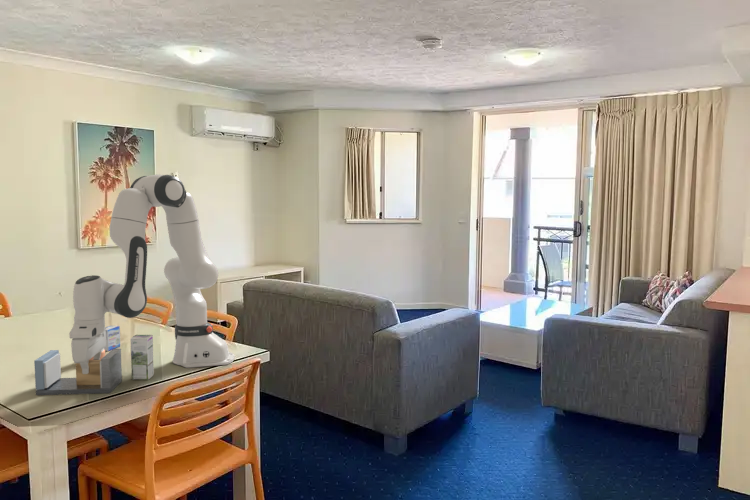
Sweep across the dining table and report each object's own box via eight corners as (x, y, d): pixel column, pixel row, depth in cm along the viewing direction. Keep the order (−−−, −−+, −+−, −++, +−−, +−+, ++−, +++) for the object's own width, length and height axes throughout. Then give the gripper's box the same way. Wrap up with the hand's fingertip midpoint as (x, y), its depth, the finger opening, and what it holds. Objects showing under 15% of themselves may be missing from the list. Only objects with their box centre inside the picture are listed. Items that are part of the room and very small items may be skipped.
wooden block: (81, 381, 189) (80, 360, 188) (107, 380, 190) (106, 359, 189) (76, 385, 185) (75, 363, 185) (102, 384, 186) (102, 363, 186)
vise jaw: (61, 377, 192) (60, 349, 191) (45, 389, 180) (44, 360, 179) (52, 377, 192) (50, 350, 191) (35, 389, 180) (34, 360, 179)
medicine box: (108, 351, 230) (107, 330, 229) (98, 350, 231) (97, 329, 230) (120, 346, 237) (120, 325, 237) (111, 345, 238) (110, 325, 237)
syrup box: (154, 374, 201) (153, 333, 200) (148, 380, 196) (147, 338, 194) (137, 374, 201) (136, 333, 200) (131, 380, 195) (129, 338, 194)
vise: (121, 380, 195) (120, 348, 194) (110, 393, 183) (109, 358, 182) (52, 382, 192) (50, 350, 191) (35, 395, 180) (34, 360, 179)
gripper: (91, 319, 196) (92, 359, 197) (66, 334, 176) (68, 379, 177) (110, 319, 197) (112, 359, 198) (88, 334, 176) (90, 378, 178)
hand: (91, 368), depth 187 cm, fingers open, 8 cm apart
